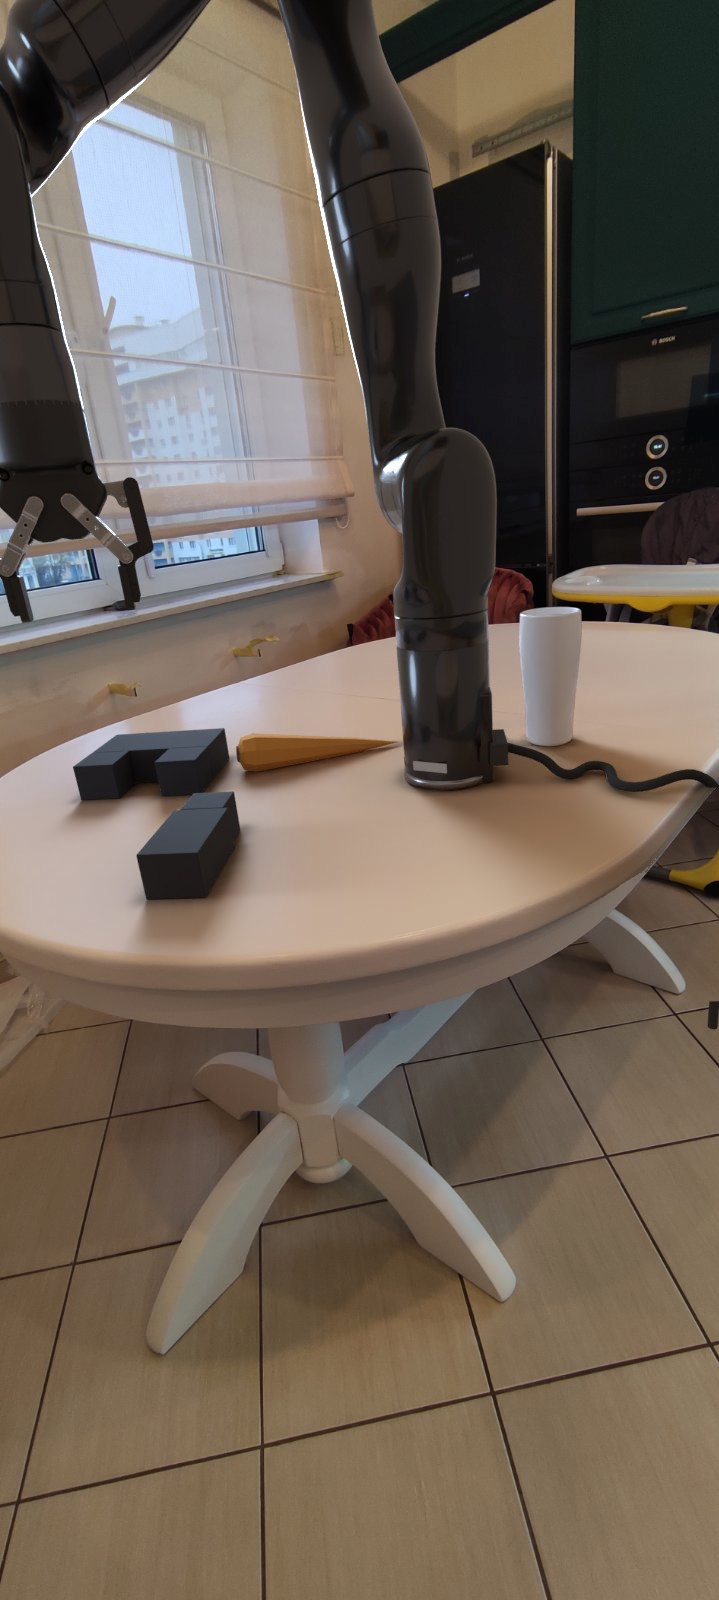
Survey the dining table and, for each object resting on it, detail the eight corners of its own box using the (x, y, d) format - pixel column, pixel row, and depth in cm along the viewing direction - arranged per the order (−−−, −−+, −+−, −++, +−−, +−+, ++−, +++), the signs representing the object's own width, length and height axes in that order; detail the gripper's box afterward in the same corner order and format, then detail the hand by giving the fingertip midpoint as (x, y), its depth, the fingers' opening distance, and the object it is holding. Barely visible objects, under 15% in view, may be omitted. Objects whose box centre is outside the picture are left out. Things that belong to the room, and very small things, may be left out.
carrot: (239, 781, 84) (240, 750, 81) (234, 756, 87) (234, 726, 84) (402, 767, 90) (407, 738, 87) (391, 744, 93) (396, 716, 90)
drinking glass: (581, 749, 82) (584, 613, 76) (519, 750, 83) (518, 617, 78) (576, 731, 88) (579, 605, 82) (519, 732, 89) (519, 608, 84)
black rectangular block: (245, 829, 69) (239, 790, 68) (206, 897, 57) (197, 852, 56) (195, 831, 70) (188, 793, 68) (145, 899, 58) (135, 855, 56)
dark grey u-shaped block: (229, 758, 90) (224, 727, 89) (201, 794, 79) (194, 759, 78) (123, 764, 92) (116, 734, 91) (80, 800, 81) (72, 766, 80)
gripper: (-82, 402, 52) (-17, 632, 58) (124, 389, 55) (165, 609, 61) (-55, 416, 58) (0, 621, 64) (126, 405, 61) (163, 601, 67)
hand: (80, 615), depth 62 cm, fingers open, 8 cm apart
